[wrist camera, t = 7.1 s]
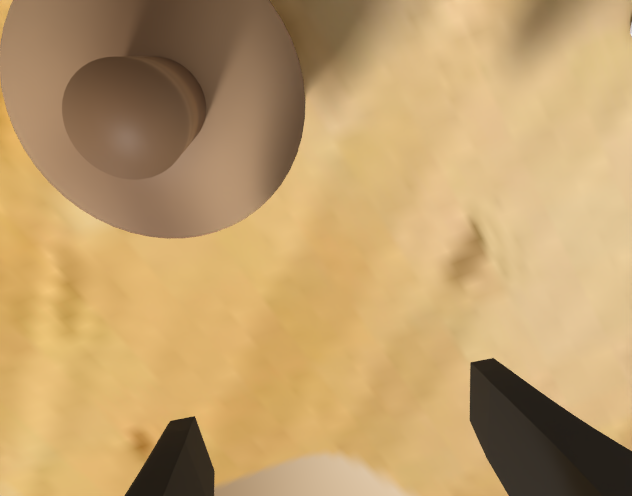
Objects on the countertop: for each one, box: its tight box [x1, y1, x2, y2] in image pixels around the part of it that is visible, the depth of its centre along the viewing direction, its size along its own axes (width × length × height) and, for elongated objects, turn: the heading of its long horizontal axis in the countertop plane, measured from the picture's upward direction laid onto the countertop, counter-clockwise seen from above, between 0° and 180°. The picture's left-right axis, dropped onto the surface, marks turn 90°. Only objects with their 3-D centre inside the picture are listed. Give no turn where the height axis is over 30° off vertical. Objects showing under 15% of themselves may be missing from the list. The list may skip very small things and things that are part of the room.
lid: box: [0, 0, 305, 238], centre depth 11 cm, size 8×8×4 cm
